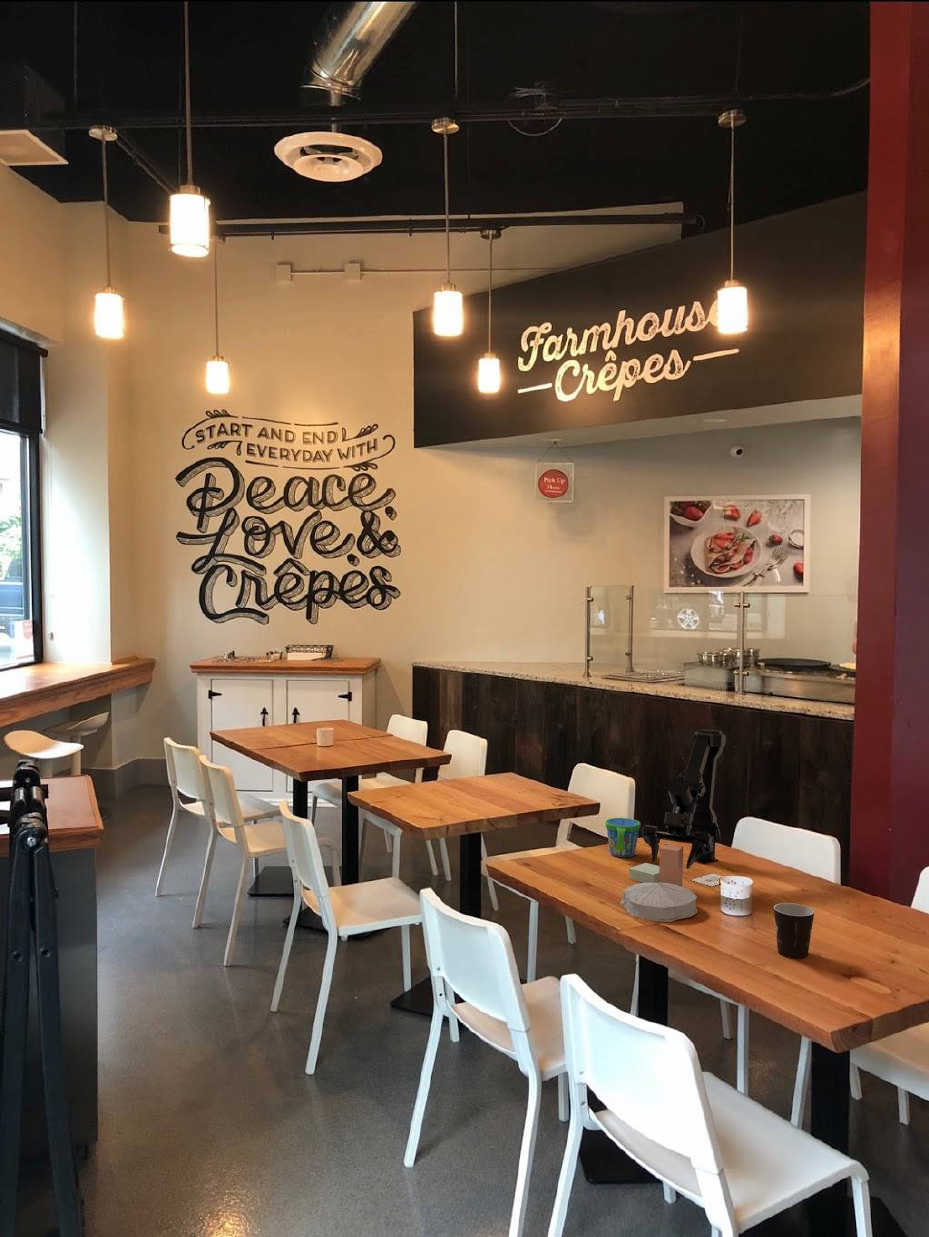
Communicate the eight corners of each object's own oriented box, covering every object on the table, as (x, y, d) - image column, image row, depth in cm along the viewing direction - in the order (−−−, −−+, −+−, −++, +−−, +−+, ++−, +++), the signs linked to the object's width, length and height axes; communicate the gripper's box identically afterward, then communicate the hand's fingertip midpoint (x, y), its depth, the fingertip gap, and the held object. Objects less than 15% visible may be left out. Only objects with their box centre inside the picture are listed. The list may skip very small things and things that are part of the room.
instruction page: (712, 874, 275) (712, 873, 275) (733, 880, 270) (733, 879, 270) (690, 880, 269) (690, 879, 269) (711, 886, 263) (711, 885, 263)
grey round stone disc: (714, 920, 239) (715, 892, 239) (642, 926, 233) (643, 898, 233) (673, 895, 258) (674, 870, 258) (605, 900, 252) (606, 875, 252)
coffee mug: (781, 943, 222) (782, 900, 222) (818, 952, 216) (819, 908, 216) (761, 957, 213) (762, 913, 213) (799, 968, 207) (801, 922, 207)
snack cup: (635, 863, 285) (635, 829, 284) (599, 859, 288) (600, 825, 288) (643, 850, 299) (644, 817, 299) (610, 846, 303) (610, 814, 303)
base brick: (645, 873, 275) (645, 862, 275) (669, 879, 269) (669, 868, 269) (629, 878, 270) (629, 868, 269) (653, 885, 264) (653, 874, 264)
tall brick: (664, 887, 262) (665, 843, 262) (682, 890, 260) (683, 846, 260) (658, 892, 258) (659, 848, 258) (677, 895, 256) (678, 850, 255)
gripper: (643, 795, 267) (630, 844, 257) (711, 803, 258) (699, 854, 248) (651, 818, 274) (638, 866, 264) (717, 827, 265) (706, 876, 255)
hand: (670, 865), depth 258 cm, fingers open, 9 cm apart
